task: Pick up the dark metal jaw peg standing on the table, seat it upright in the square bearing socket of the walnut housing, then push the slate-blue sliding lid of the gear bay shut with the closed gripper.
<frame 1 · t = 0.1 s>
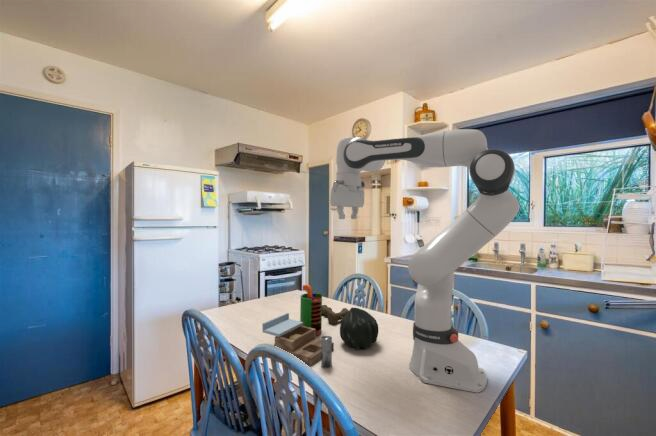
hand: (348, 219, 111), 48 cm above the table, fingers open, 8 cm apart
motor: (310, 333, 124), on the table
squash: (359, 345, 114), on the table
housing: (304, 351, 108), on the table
lid: (283, 324, 113), point 8 cm above the table, slide at 6.0 cm
brown rope toy: (334, 320, 141), on the table
jaw peg: (326, 365, 98), on the table
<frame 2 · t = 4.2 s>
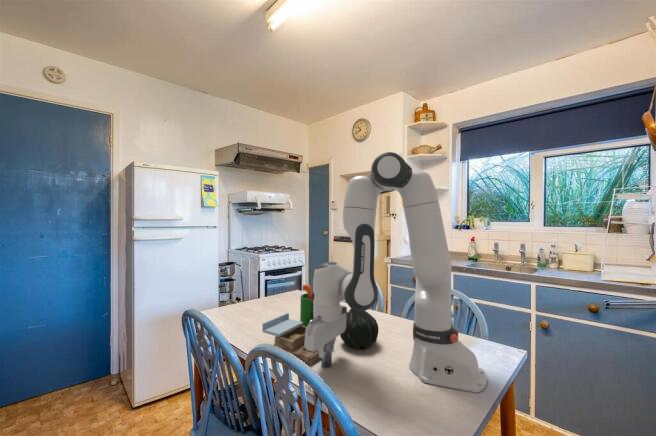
hand: (326, 354, 98), 4 cm above the table, fingers closed on jaw peg, 3 cm apart
jaw peg: (326, 365, 98), on the table, touching gripper
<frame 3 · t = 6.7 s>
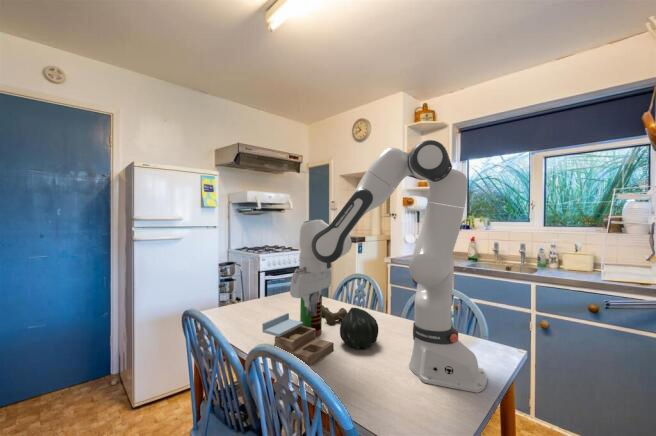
hand: (311, 304, 104), 18 cm above the table, fingers closed on jaw peg, 3 cm apart
jaw peg: (311, 315, 104), point 14 cm above the table, touching gripper
when the fingers open (5 cm above the table, at t = 9.2 s): jaw peg drops 1 cm, resting in housing.
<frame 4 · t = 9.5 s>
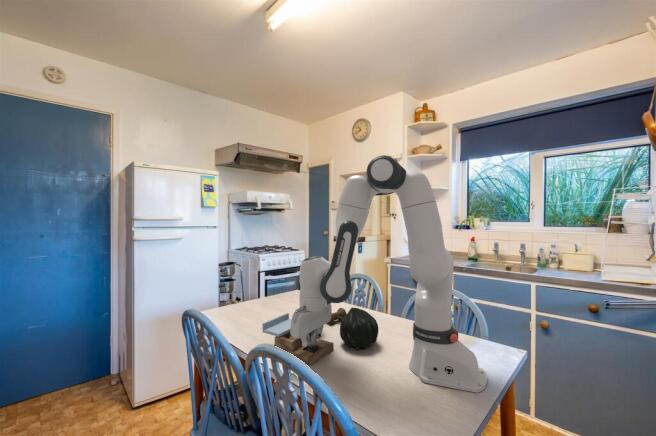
hand: (312, 341, 104), 5 cm above the table, fingers open, 6 cm apart
jaw peg: (311, 355, 105), resting in housing
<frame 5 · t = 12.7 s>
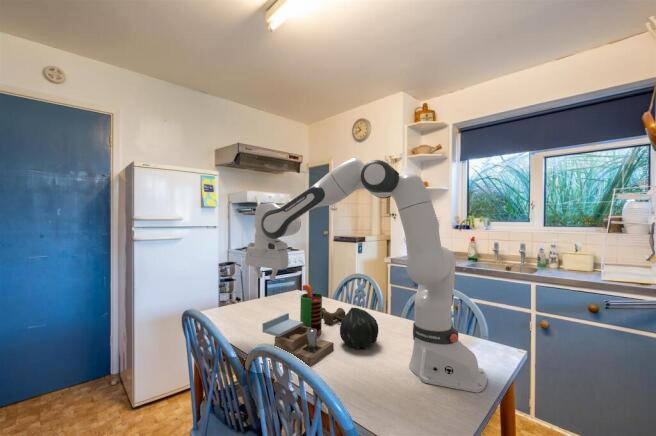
hand: (266, 278, 118), 24 cm above the table, fingers open, 5 cm apart
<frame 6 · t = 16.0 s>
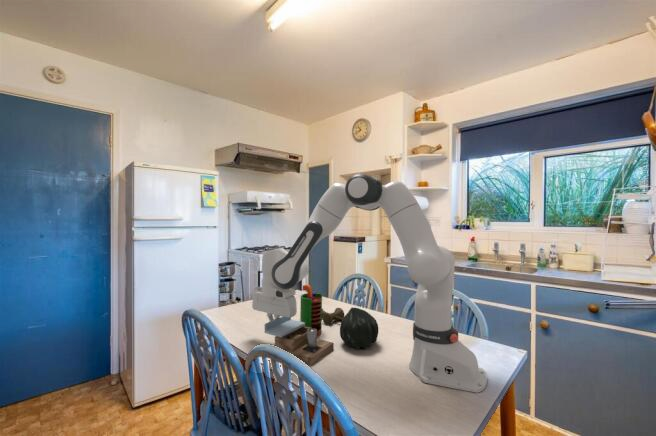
hand: (273, 324, 116), 7 cm above the table, fingers closed
lid: (285, 324, 112), point 8 cm above the table, slide at 4.9 cm, touching gripper
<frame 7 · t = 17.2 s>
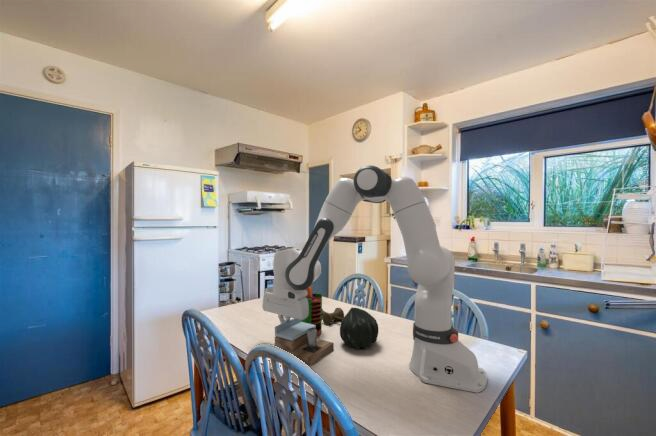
hand: (284, 326, 113), 7 cm above the table, fingers closed
lid: (296, 327, 110), point 8 cm above the table, slide at -0.1 cm, touching gripper
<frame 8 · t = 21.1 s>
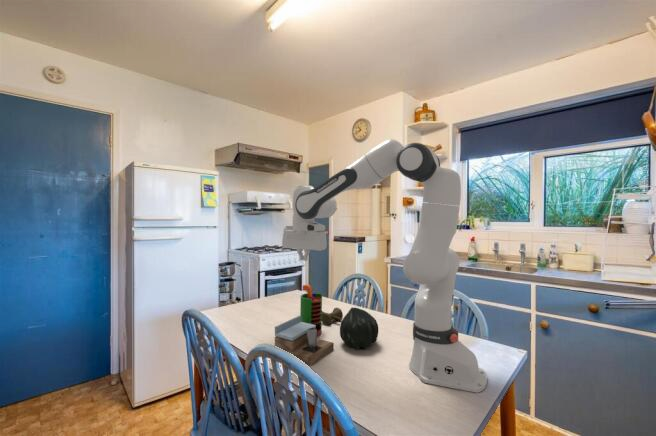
hand: (303, 260, 120), 31 cm above the table, fingers closed
lid: (295, 327, 110), point 8 cm above the table, slide at 0.0 cm
at the end: jaw peg 0.1 cm from the target spot on the housing, point 0.0 cm above the housing's base; jaw peg tilted 0°; lid slide at 0.0 cm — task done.
